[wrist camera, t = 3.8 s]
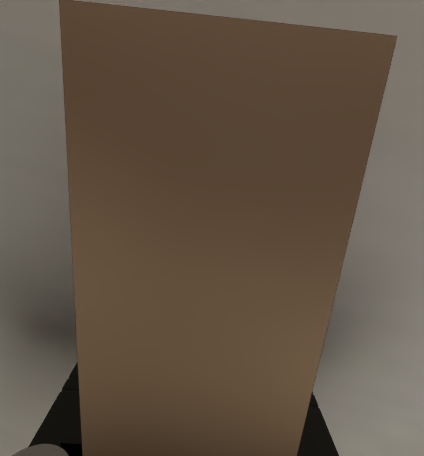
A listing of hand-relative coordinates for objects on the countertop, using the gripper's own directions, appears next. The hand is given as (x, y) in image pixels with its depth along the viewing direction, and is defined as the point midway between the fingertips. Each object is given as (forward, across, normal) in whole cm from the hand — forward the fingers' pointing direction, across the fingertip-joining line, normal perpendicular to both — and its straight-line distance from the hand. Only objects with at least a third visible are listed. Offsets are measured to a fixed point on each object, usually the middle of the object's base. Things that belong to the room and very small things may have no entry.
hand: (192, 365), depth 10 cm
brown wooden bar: (+1, 0, 0) cm, 1 cm away
